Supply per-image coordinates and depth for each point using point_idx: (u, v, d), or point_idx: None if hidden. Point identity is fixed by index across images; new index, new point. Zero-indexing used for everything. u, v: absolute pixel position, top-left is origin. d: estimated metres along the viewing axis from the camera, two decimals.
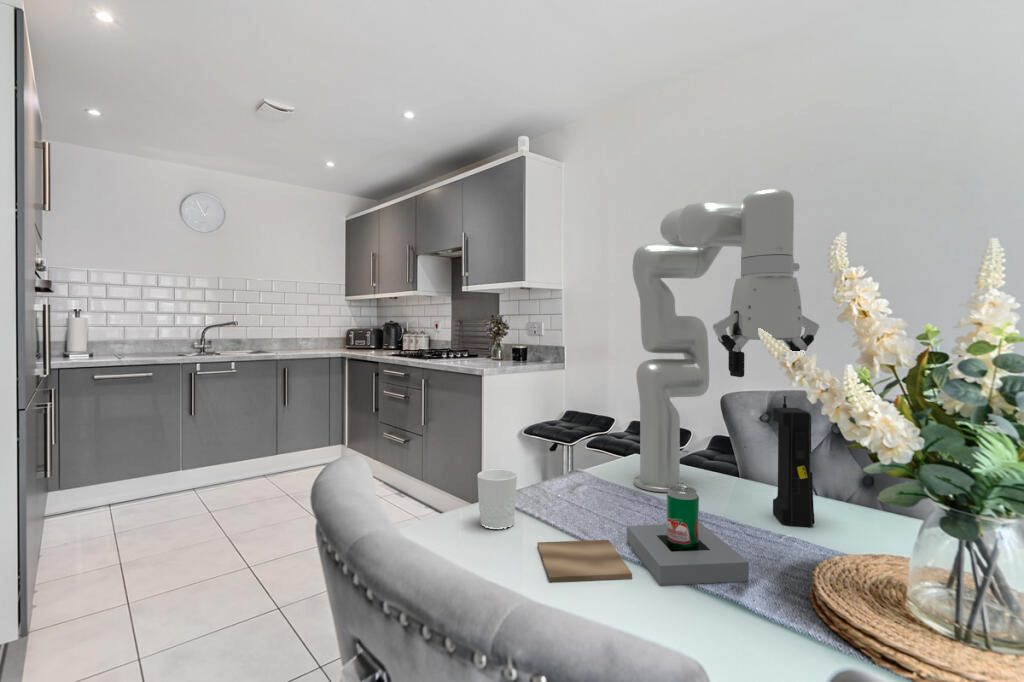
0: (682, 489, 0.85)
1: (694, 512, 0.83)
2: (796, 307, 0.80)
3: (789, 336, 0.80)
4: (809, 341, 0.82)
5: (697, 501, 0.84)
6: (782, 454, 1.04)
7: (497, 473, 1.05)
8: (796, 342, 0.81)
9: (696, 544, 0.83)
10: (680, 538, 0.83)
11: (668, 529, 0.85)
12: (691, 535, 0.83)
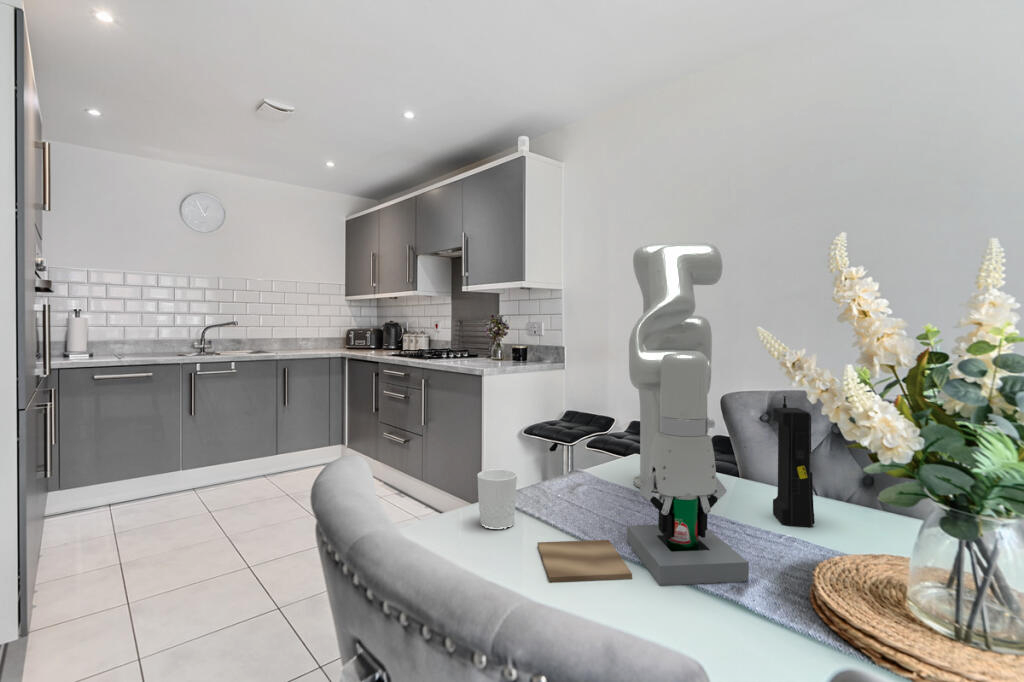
0: None
1: (694, 512, 0.83)
2: (710, 466, 0.83)
3: (704, 494, 0.83)
4: (713, 502, 0.85)
5: (697, 501, 0.84)
6: (782, 454, 1.04)
7: (497, 473, 1.05)
8: (702, 502, 0.84)
9: (696, 544, 0.83)
10: (680, 538, 0.83)
11: None
12: (691, 535, 0.83)
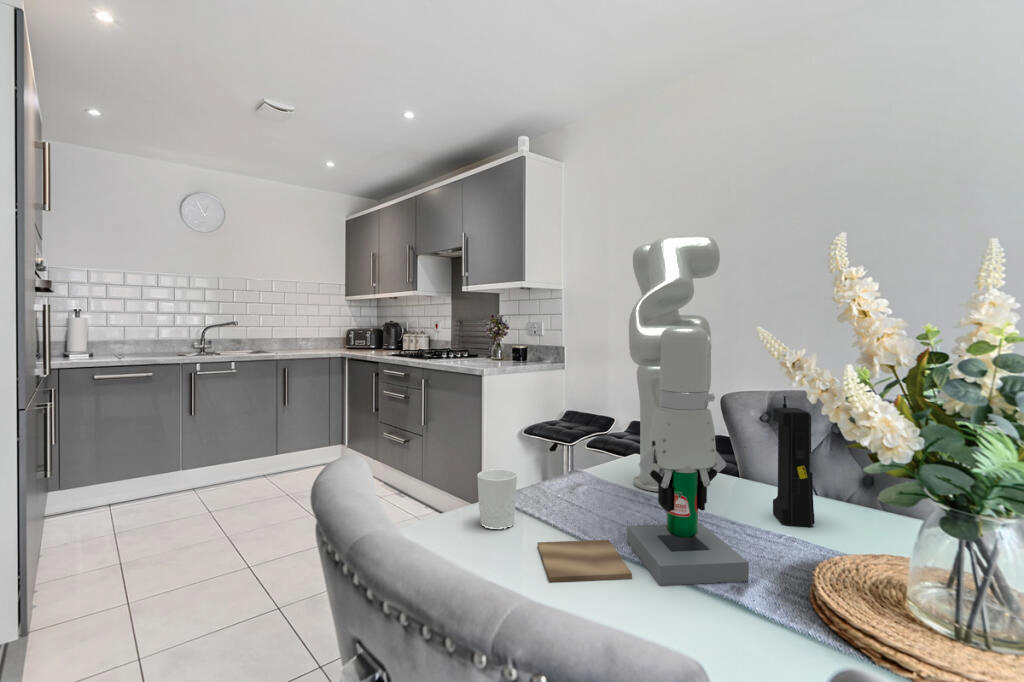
0: None
1: (694, 485, 0.83)
2: (709, 439, 0.83)
3: (703, 467, 0.84)
4: (712, 475, 0.85)
5: (697, 474, 0.84)
6: (783, 454, 1.04)
7: (497, 473, 1.05)
8: (702, 475, 0.85)
9: (696, 517, 0.84)
10: (680, 511, 0.84)
11: None
12: (690, 508, 0.83)
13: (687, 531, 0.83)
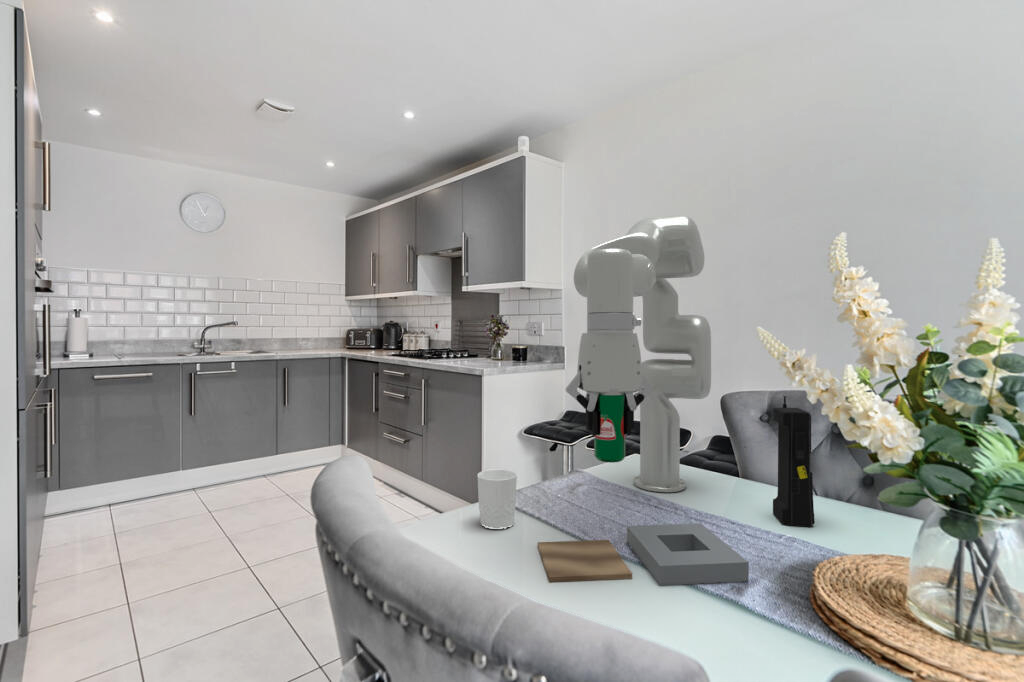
0: None
1: (619, 408, 0.82)
2: (635, 362, 0.83)
3: (629, 390, 0.83)
4: (639, 400, 0.84)
5: (623, 397, 0.83)
6: (783, 454, 1.04)
7: (497, 473, 1.05)
8: (628, 399, 0.84)
9: (622, 441, 0.83)
10: (605, 434, 0.82)
11: None
12: (616, 431, 0.82)
13: (613, 454, 0.82)
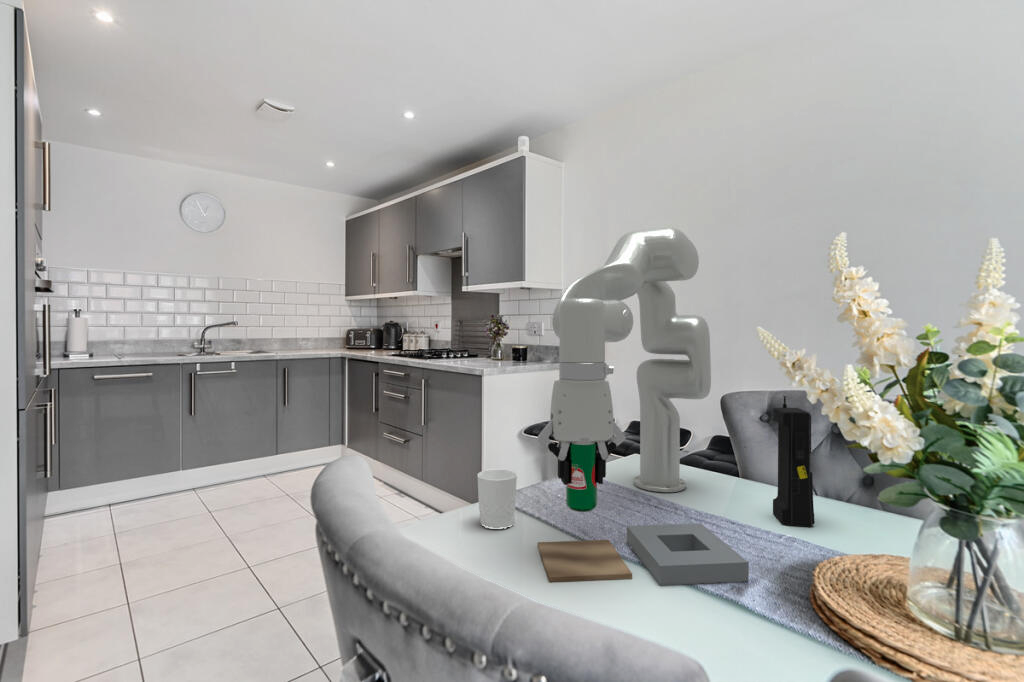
0: None
1: (590, 457, 0.82)
2: (606, 411, 0.83)
3: (600, 439, 0.83)
4: (611, 449, 0.84)
5: (594, 447, 0.83)
6: (782, 454, 1.04)
7: (497, 473, 1.05)
8: (600, 448, 0.83)
9: (593, 490, 0.83)
10: (576, 483, 0.82)
11: None
12: (587, 481, 0.82)
13: (584, 504, 0.82)
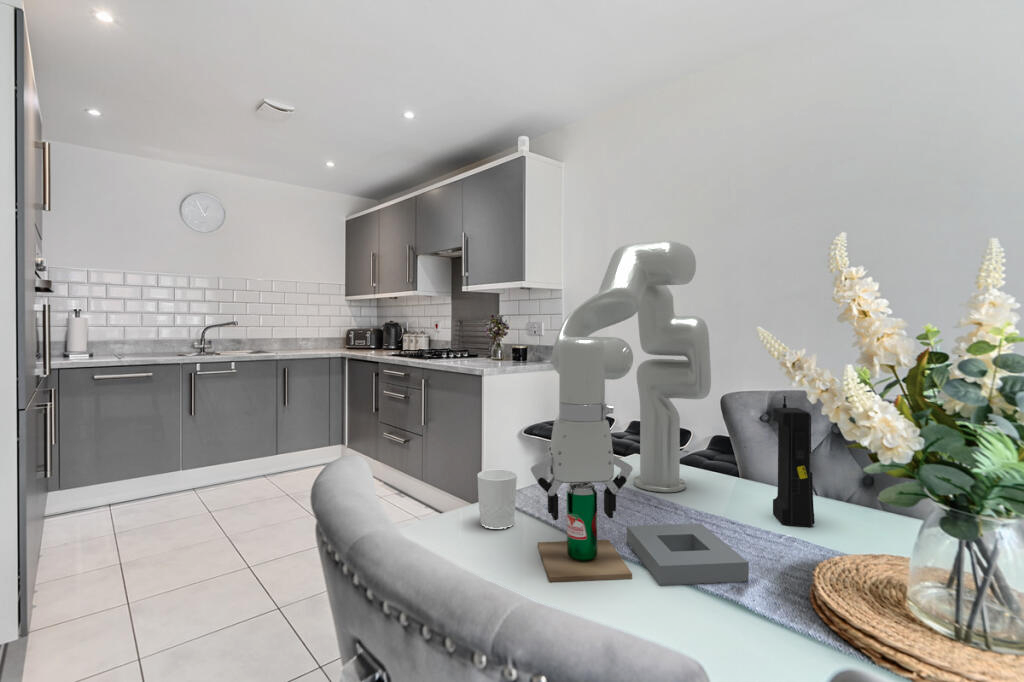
0: (581, 485, 0.85)
1: (590, 507, 0.83)
2: (606, 452, 0.83)
3: (600, 480, 0.83)
4: (621, 483, 0.84)
5: (594, 496, 0.83)
6: (782, 454, 1.04)
7: (497, 473, 1.05)
8: (608, 485, 0.84)
9: (593, 540, 0.83)
10: (577, 534, 0.83)
11: (567, 525, 0.85)
12: (587, 531, 0.83)
13: (584, 554, 0.82)
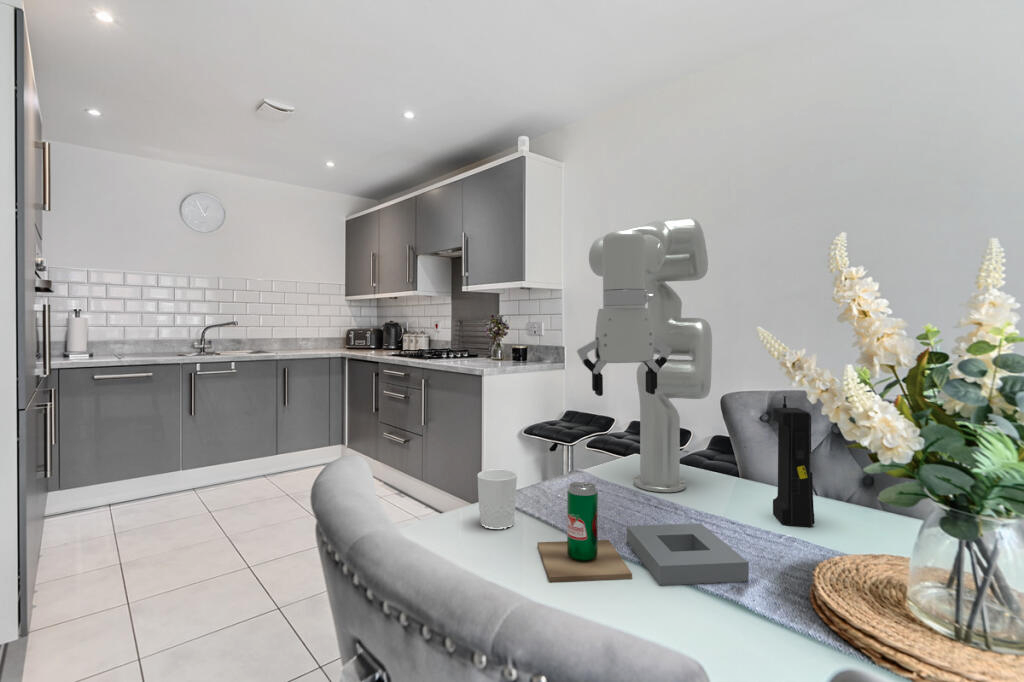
0: (582, 485, 0.85)
1: (591, 508, 0.83)
2: (647, 334, 0.91)
3: (642, 359, 0.91)
4: (662, 363, 0.93)
5: (595, 497, 0.83)
6: (782, 454, 1.04)
7: (497, 473, 1.05)
8: (649, 364, 0.92)
9: (594, 540, 0.83)
10: (577, 534, 0.83)
11: (567, 525, 0.85)
12: (588, 531, 0.82)
13: (584, 554, 0.82)
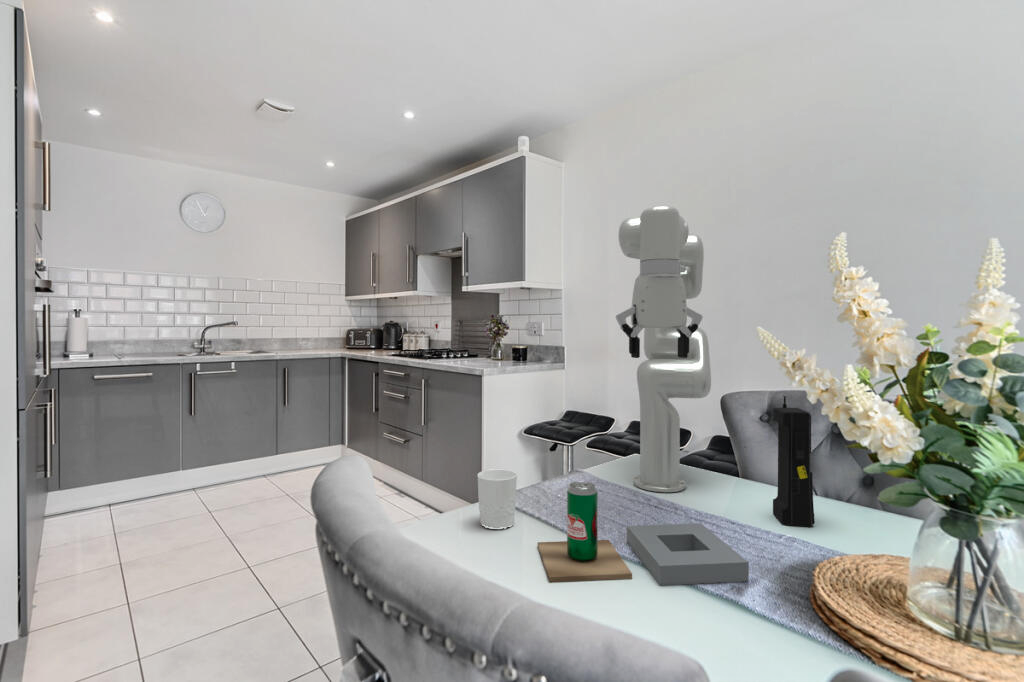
0: (581, 485, 0.85)
1: (591, 508, 0.83)
2: (681, 301, 0.99)
3: (676, 325, 0.99)
4: (694, 329, 1.01)
5: (595, 497, 0.83)
6: (782, 454, 1.04)
7: (497, 473, 1.05)
8: (682, 330, 1.00)
9: (593, 540, 0.83)
10: (577, 534, 0.83)
11: (567, 525, 0.85)
12: (588, 531, 0.82)
13: (584, 554, 0.82)
